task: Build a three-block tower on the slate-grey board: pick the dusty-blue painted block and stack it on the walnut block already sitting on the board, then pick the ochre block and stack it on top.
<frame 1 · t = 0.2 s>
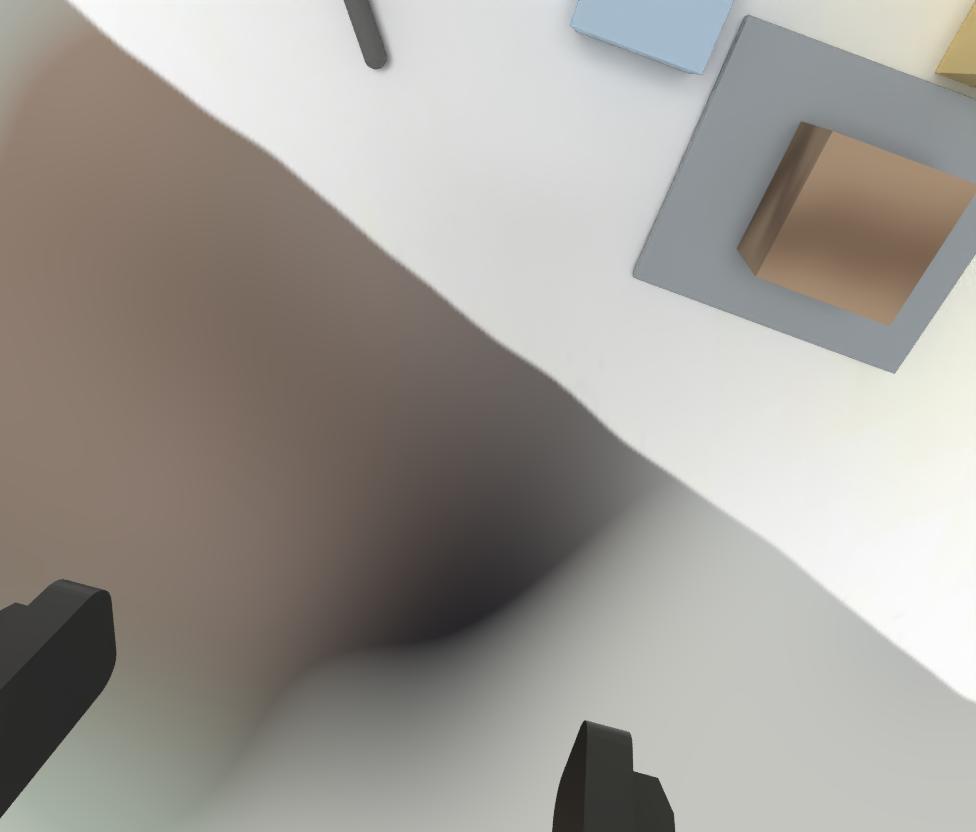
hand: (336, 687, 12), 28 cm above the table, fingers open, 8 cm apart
walnut brick: (828, 210, 32), point 1 cm above the table, touching slate board
slate board: (822, 206, 33), on the table
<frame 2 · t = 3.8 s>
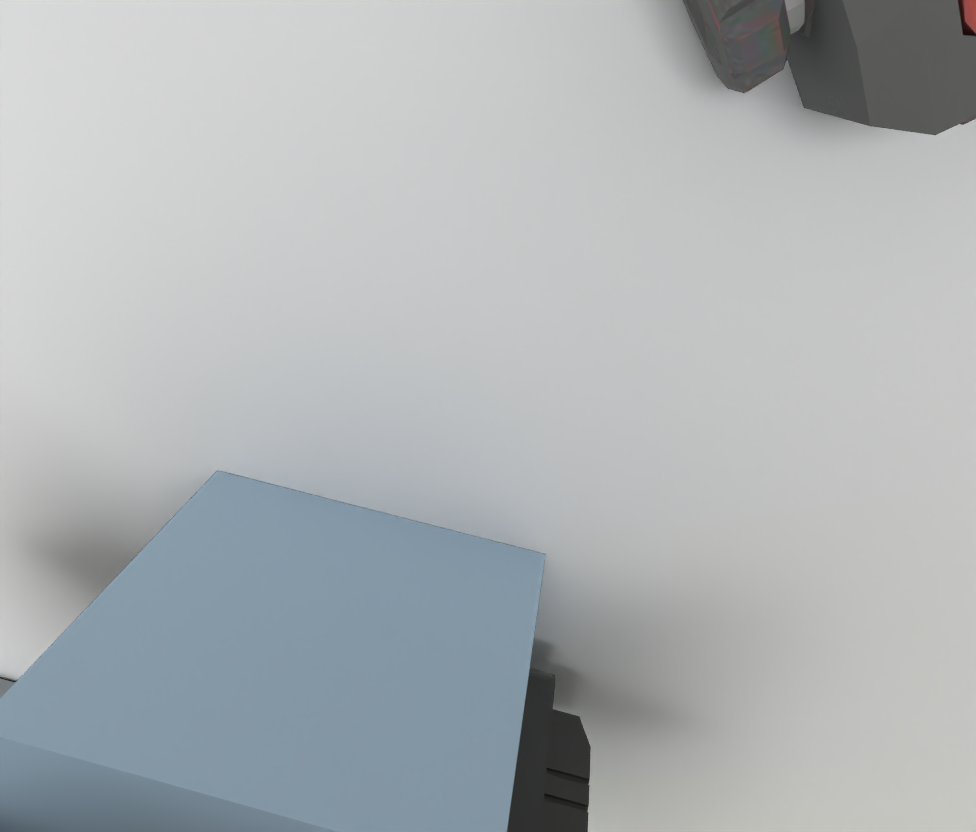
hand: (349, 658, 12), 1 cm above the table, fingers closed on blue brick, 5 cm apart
blue brick: (362, 633, 13), on the table, touching gripper
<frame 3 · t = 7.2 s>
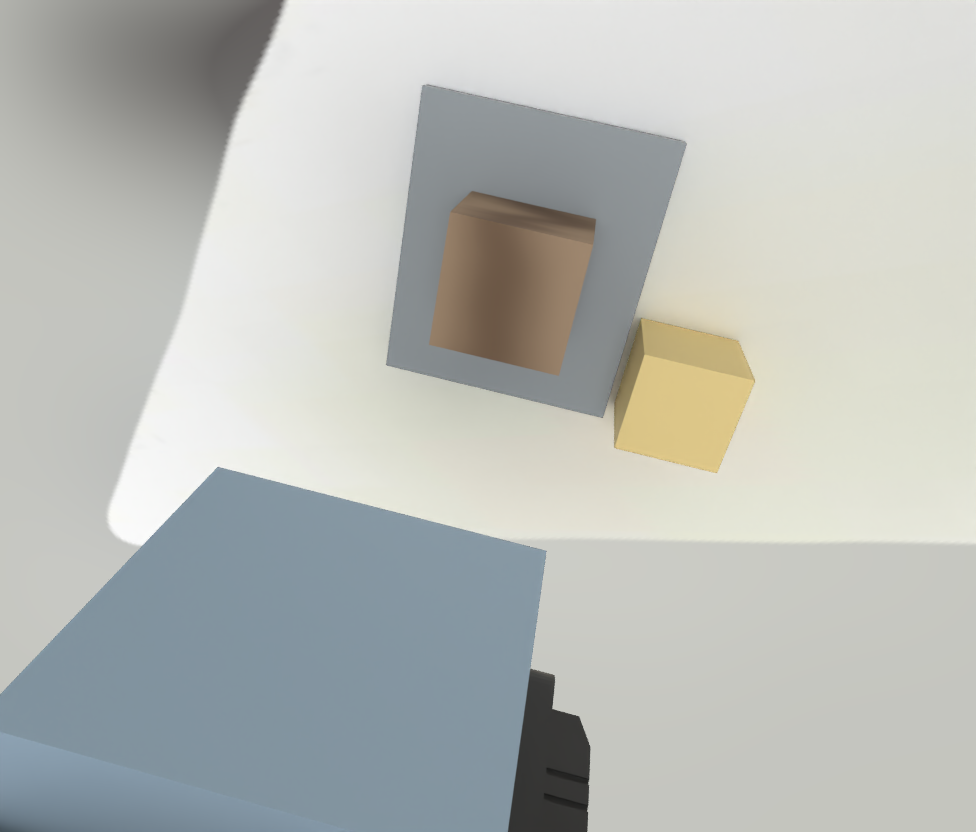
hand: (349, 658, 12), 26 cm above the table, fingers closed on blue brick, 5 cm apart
blue brick: (362, 630, 13), point 26 cm above the table, touching gripper
walnut brick: (520, 266, 34), point 1 cm above the table, touching slate board
slate board: (522, 261, 35), on the table
ochre brick: (673, 372, 37), on the table
when the fingers open (8 cm above the table, at t = 10.4 s): blue brick drops 1 cm, resting on walnut brick.
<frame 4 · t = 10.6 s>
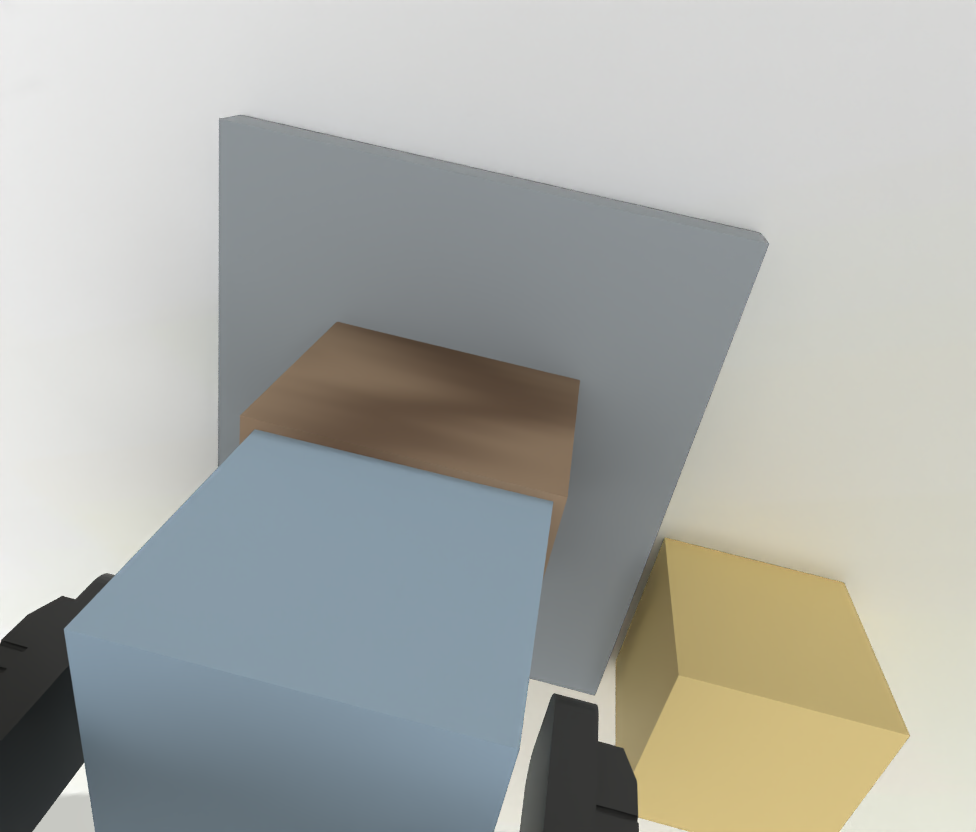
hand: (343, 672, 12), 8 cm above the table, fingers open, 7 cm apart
blue brick: (385, 580, 14), point 6 cm above the table, touching walnut brick
walnut brick: (438, 455, 18), point 1 cm above the table, touching blue brick, slate board
slate board: (446, 436, 19), on the table
ochre brick: (722, 622, 21), on the table
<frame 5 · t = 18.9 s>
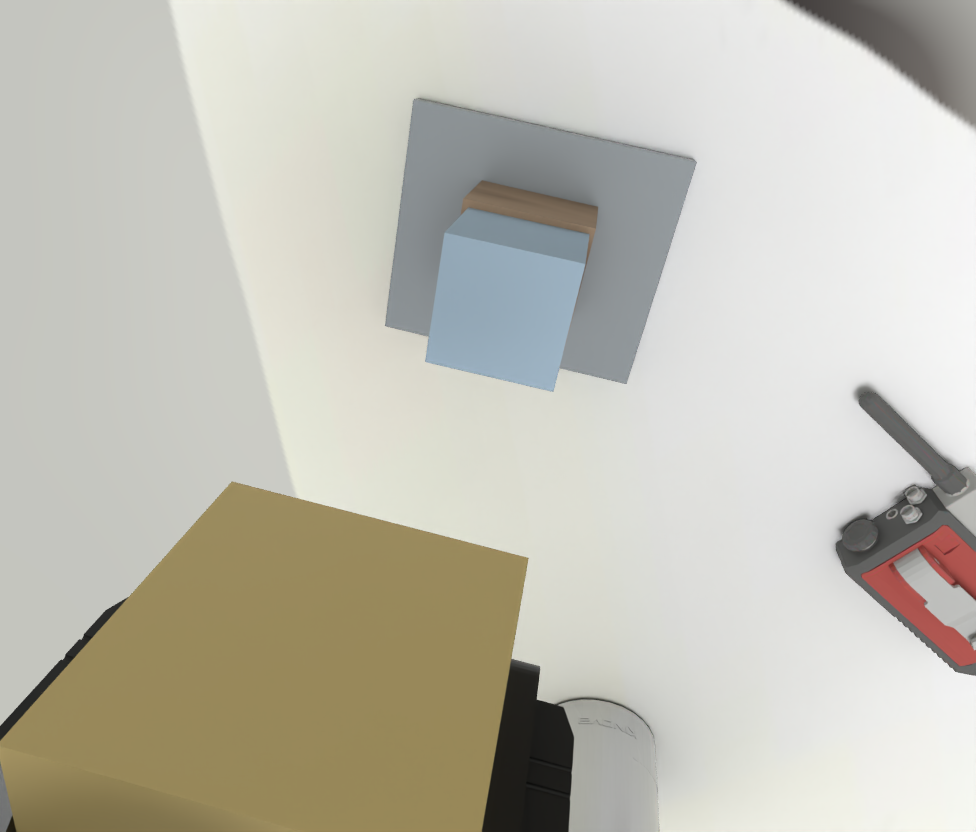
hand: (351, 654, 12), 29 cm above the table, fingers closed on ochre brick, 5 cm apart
blue brick: (516, 279, 32), point 6 cm above the table, touching walnut brick
walnut brick: (527, 251, 37), point 1 cm above the table, touching blue brick, slate board
slate board: (529, 246, 38), on the table
ochre brick: (362, 629, 13), point 29 cm above the table, touching gripper
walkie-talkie: (915, 525, 42), on the table
when the fingers open (13 cm above the table, at t = 22.3 s): ochre brick drops 1 cm, resting on blue brick.
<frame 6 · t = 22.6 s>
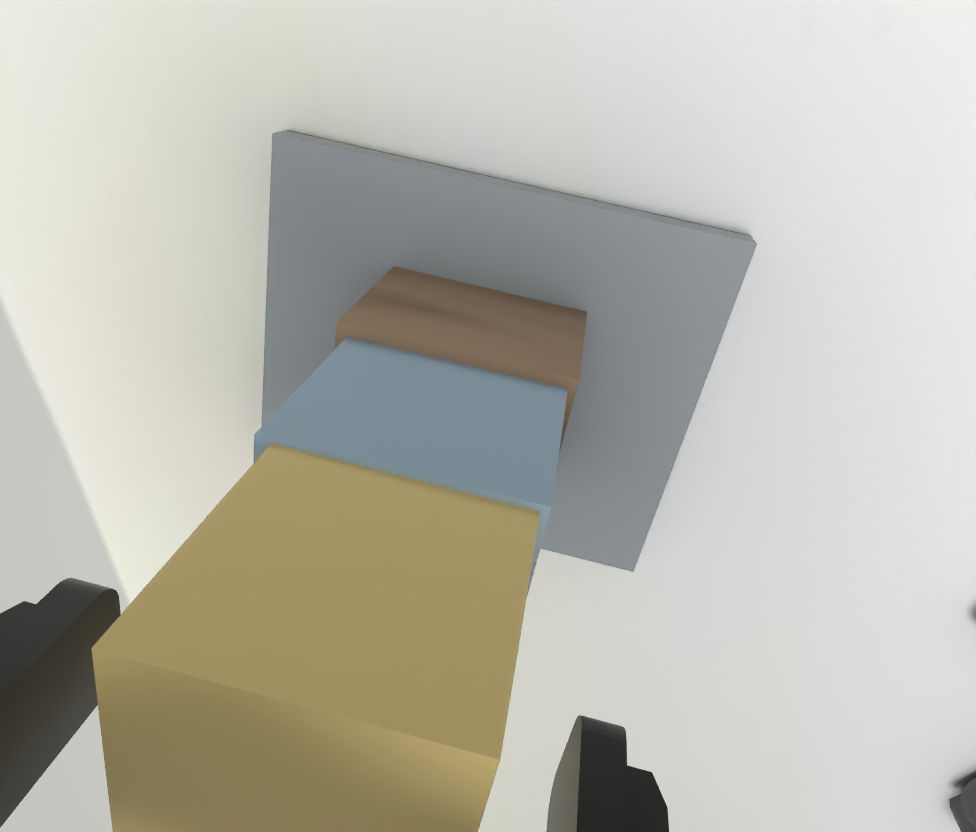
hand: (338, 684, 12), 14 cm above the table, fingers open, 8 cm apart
blue brick: (440, 457, 18), point 6 cm above the table, touching ochre brick, walnut brick
walnut brick: (472, 376, 23), point 1 cm above the table, touching blue brick, slate board
slate board: (478, 364, 23), on the table
ochre brick: (388, 580, 14), point 11 cm above the table, touching blue brick
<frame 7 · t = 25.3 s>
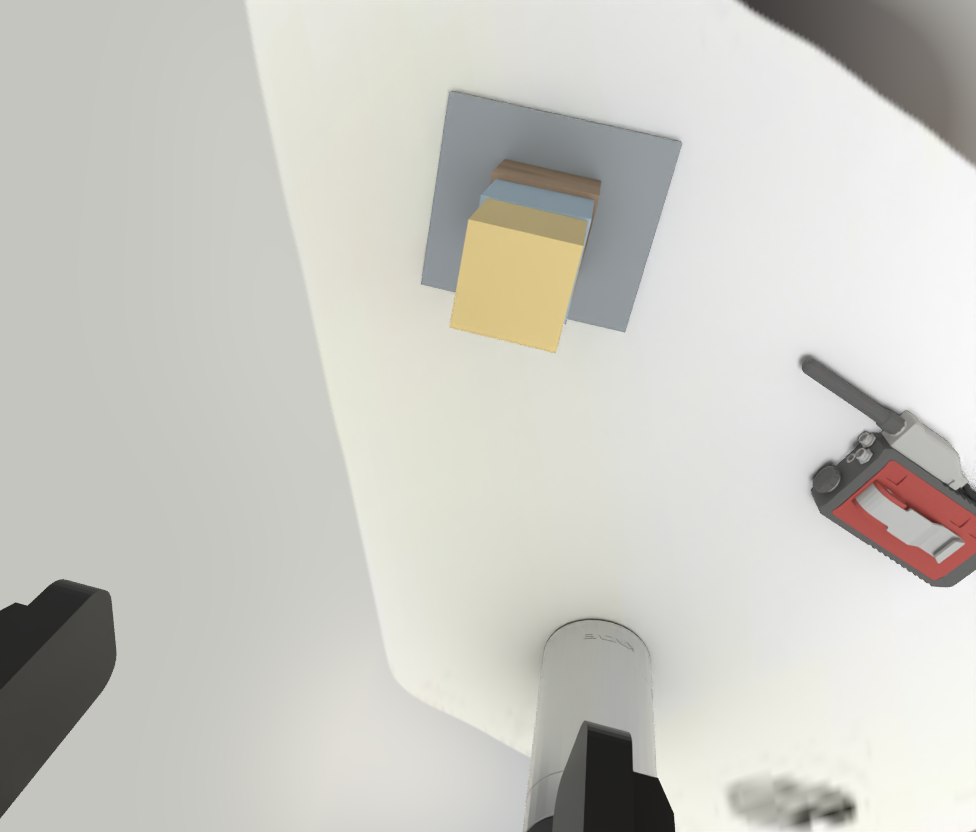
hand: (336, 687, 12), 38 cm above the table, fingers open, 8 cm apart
blue brick: (534, 238, 40), point 6 cm above the table, touching ochre brick, walnut brick
walnut brick: (541, 218, 44), point 1 cm above the table, touching blue brick, slate board
slate board: (543, 215, 45), on the table
ochre brick: (526, 259, 35), point 11 cm above the table, touching blue brick
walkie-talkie: (875, 465, 50), on the table
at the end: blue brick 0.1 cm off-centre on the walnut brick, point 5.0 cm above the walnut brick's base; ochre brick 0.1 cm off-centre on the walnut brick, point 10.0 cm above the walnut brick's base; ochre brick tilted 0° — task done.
